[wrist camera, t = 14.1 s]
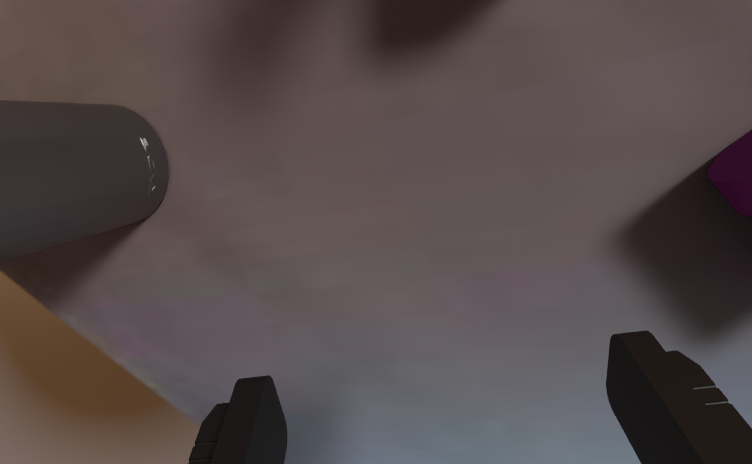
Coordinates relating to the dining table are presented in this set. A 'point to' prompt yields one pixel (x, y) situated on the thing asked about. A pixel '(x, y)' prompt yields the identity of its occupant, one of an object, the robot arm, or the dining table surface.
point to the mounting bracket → (735, 174)
